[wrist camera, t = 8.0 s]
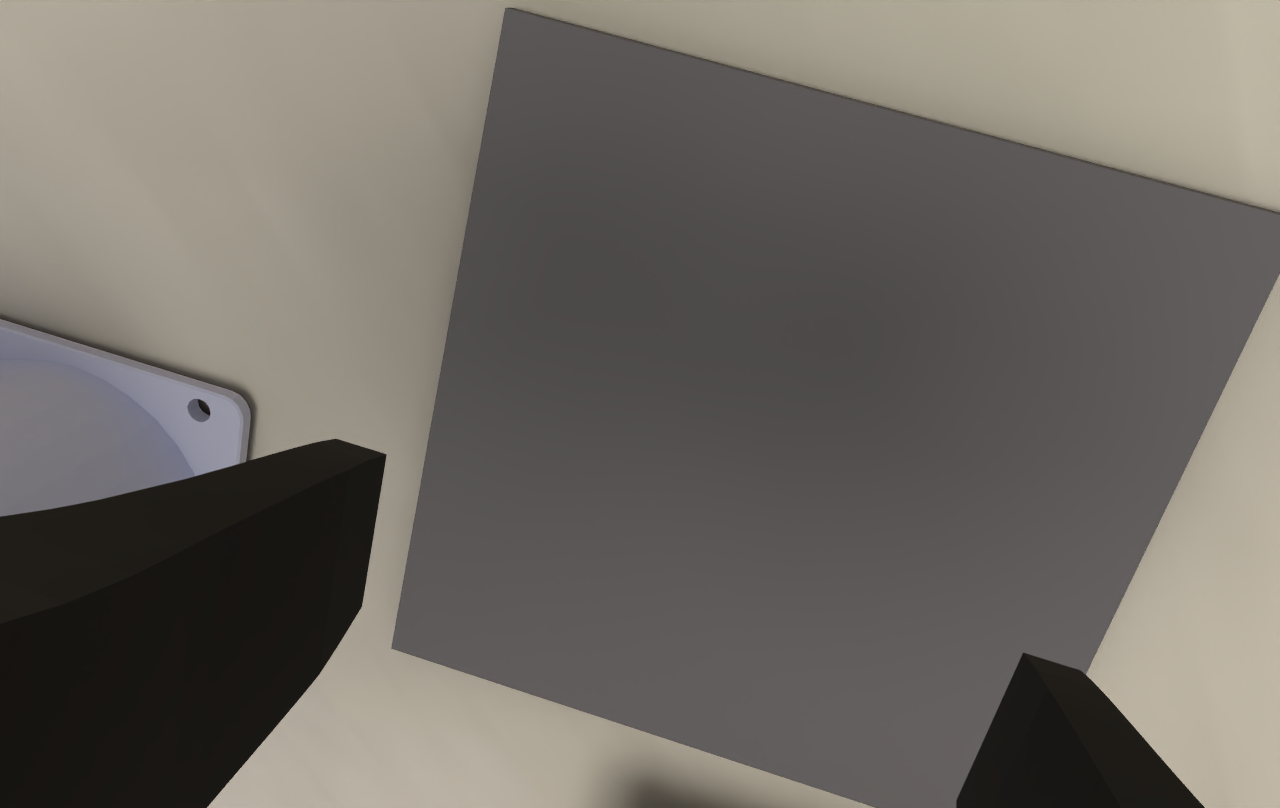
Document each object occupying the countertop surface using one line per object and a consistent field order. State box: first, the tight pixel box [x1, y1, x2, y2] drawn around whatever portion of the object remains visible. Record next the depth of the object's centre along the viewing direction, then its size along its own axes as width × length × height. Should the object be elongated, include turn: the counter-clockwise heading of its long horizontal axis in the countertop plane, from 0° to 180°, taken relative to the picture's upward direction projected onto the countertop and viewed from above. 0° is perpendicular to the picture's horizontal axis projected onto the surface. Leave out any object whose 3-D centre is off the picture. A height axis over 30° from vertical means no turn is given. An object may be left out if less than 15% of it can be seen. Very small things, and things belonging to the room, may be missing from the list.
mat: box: [392, 8, 1280, 808], centre depth 21 cm, size 14×14×1 cm
